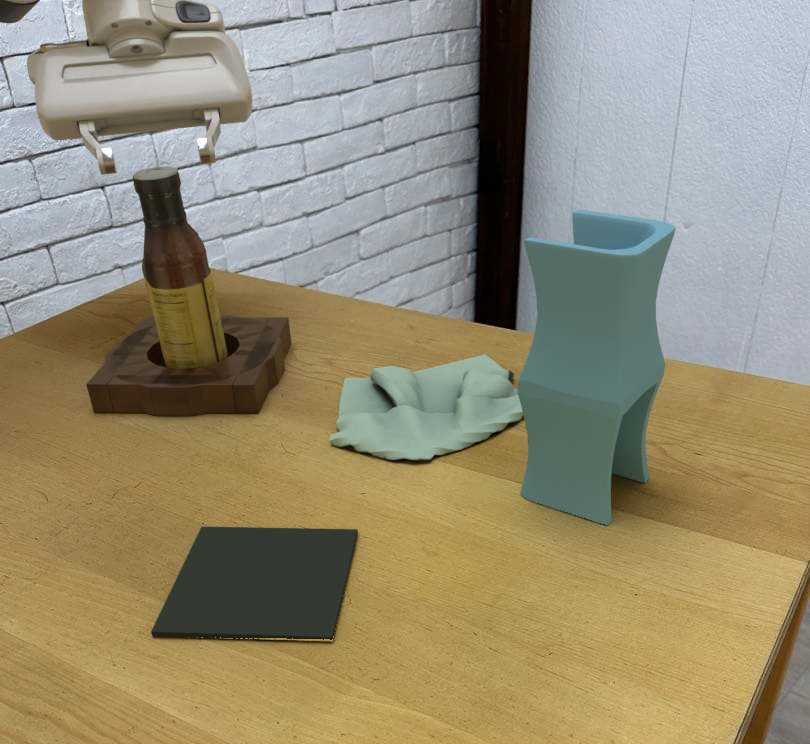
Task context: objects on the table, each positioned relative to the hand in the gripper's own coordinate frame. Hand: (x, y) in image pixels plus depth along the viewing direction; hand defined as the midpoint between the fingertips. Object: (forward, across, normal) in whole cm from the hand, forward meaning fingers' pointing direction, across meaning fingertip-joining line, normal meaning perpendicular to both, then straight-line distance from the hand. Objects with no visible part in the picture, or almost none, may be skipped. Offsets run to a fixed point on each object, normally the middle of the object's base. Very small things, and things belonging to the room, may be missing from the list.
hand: (158, 165), depth 87 cm
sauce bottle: (+19, 0, +8) cm, 20 cm away
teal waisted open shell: (+41, +28, -14) cm, 52 cm away
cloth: (+29, +21, -2) cm, 36 cm away
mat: (+44, +2, -18) cm, 47 cm away
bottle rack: (+18, 0, +8) cm, 20 cm away
